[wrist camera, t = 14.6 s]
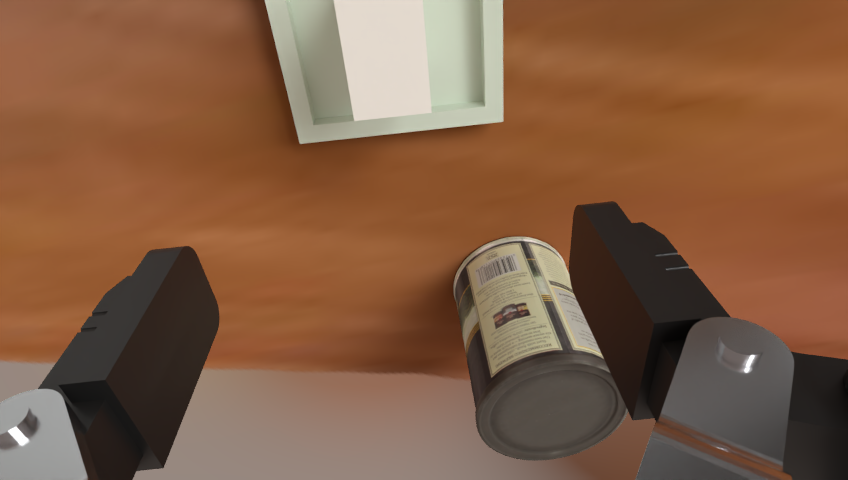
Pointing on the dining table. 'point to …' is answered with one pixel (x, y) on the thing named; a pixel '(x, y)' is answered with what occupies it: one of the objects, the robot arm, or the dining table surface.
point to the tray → (447, 64)
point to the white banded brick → (384, 57)
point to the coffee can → (532, 354)
